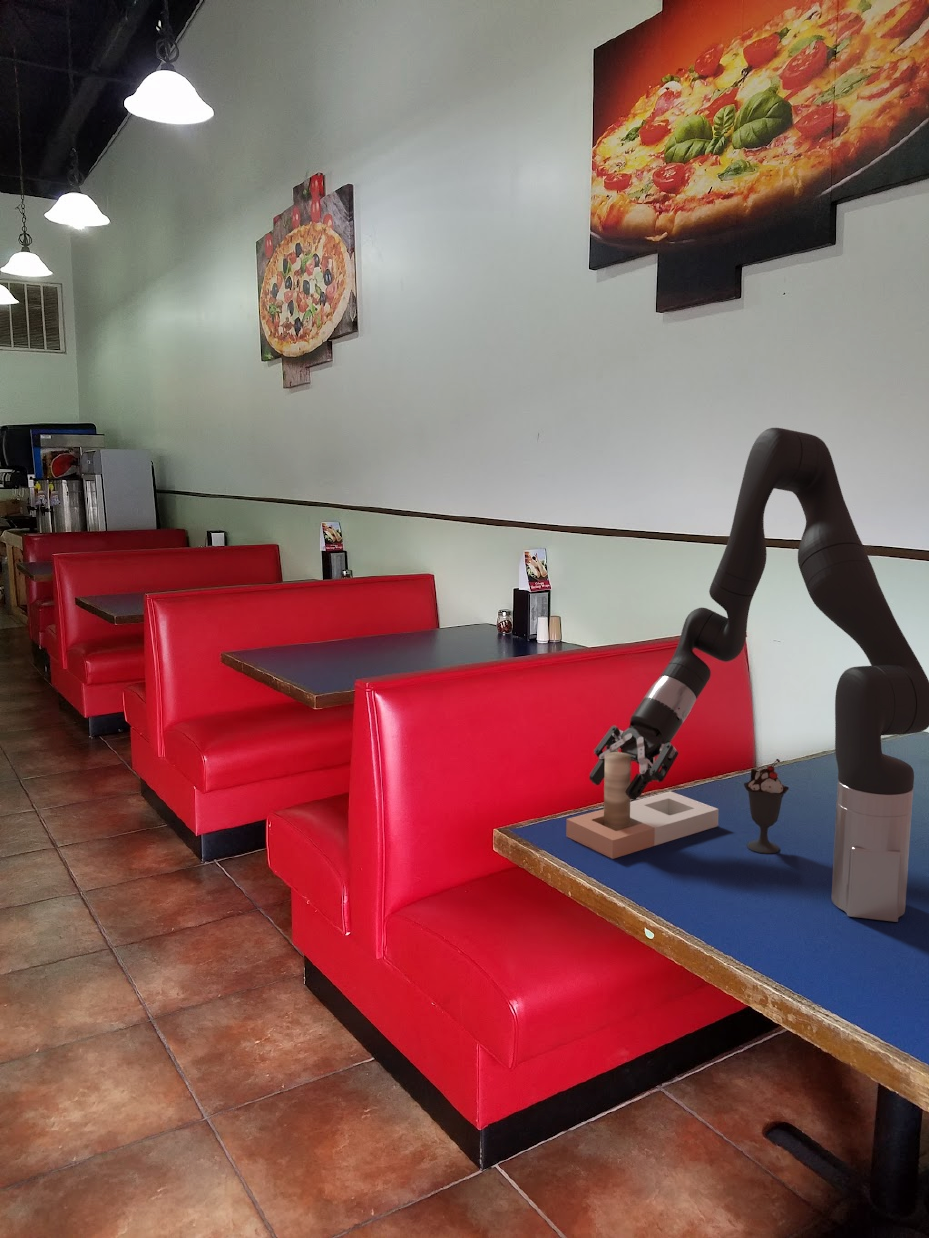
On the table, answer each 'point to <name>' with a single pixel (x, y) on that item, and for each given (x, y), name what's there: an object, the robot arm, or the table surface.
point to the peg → (617, 790)
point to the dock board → (644, 824)
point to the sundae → (765, 805)
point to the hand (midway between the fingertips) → (611, 789)
